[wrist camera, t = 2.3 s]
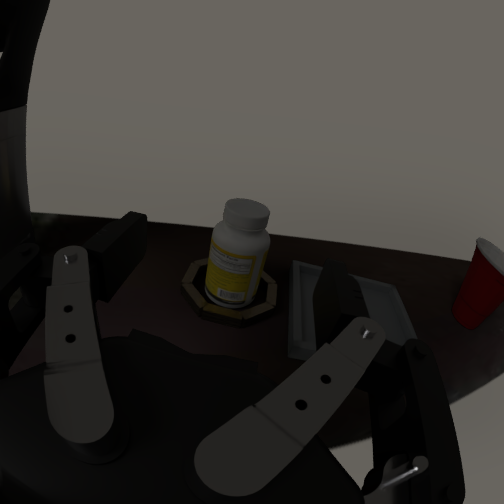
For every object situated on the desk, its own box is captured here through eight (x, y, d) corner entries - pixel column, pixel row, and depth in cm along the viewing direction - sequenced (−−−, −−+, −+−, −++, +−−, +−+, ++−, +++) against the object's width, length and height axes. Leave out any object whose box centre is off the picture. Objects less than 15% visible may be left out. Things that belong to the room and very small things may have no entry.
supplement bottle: (233, 271, 33) (252, 193, 28) (264, 300, 30) (291, 217, 25) (193, 284, 29) (206, 197, 24) (223, 317, 26) (244, 225, 21)
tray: (287, 357, 24) (293, 346, 23) (289, 270, 36) (292, 259, 35) (418, 373, 24) (427, 364, 23) (389, 294, 36) (394, 285, 35)
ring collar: (171, 310, 25) (171, 300, 25) (197, 257, 34) (198, 249, 33) (270, 335, 25) (274, 327, 25) (275, 277, 34) (278, 268, 33)
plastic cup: (457, 341, 29) (506, 271, 23) (431, 293, 39) (466, 230, 32) (494, 343, 30) (535, 284, 24) (468, 301, 39) (500, 247, 33)
